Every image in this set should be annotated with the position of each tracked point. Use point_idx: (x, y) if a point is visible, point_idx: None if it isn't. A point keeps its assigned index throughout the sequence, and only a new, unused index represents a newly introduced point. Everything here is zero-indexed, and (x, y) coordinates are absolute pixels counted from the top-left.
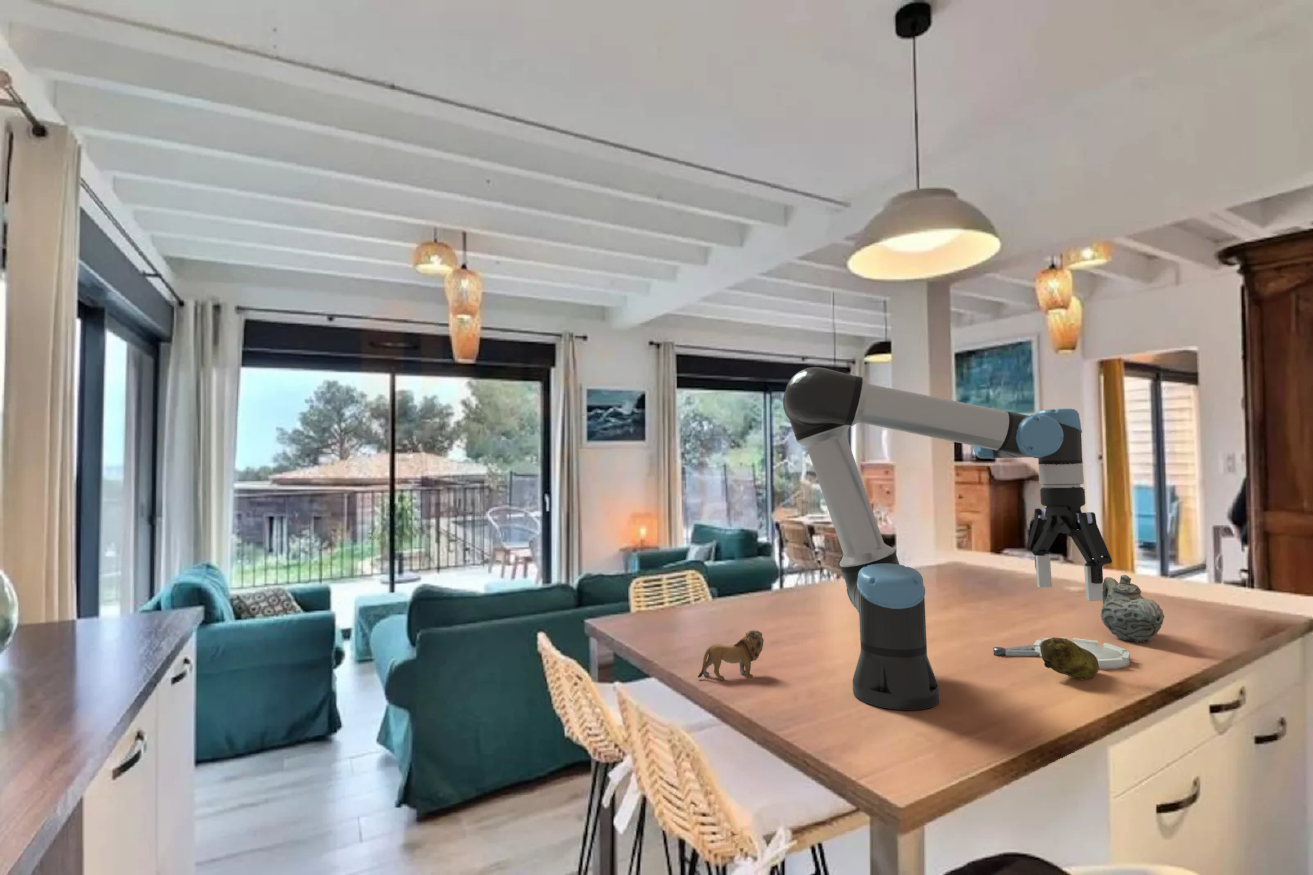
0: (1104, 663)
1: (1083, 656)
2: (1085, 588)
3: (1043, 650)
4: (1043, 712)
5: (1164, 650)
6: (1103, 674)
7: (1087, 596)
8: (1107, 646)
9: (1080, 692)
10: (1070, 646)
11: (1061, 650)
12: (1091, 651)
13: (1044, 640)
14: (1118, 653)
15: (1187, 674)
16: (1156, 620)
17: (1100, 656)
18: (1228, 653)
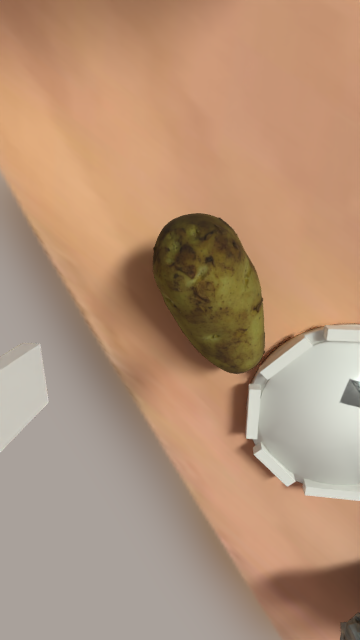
0: (248, 396)
1: (167, 304)
2: (4, 368)
3: (199, 213)
4: (24, 72)
5: (325, 571)
6: None
7: (18, 350)
8: (349, 488)
9: (128, 240)
10: (161, 275)
11: (159, 243)
12: (333, 436)
13: (233, 245)
14: (302, 472)
15: (193, 492)
16: (345, 634)
17: (294, 426)
18: (278, 629)
